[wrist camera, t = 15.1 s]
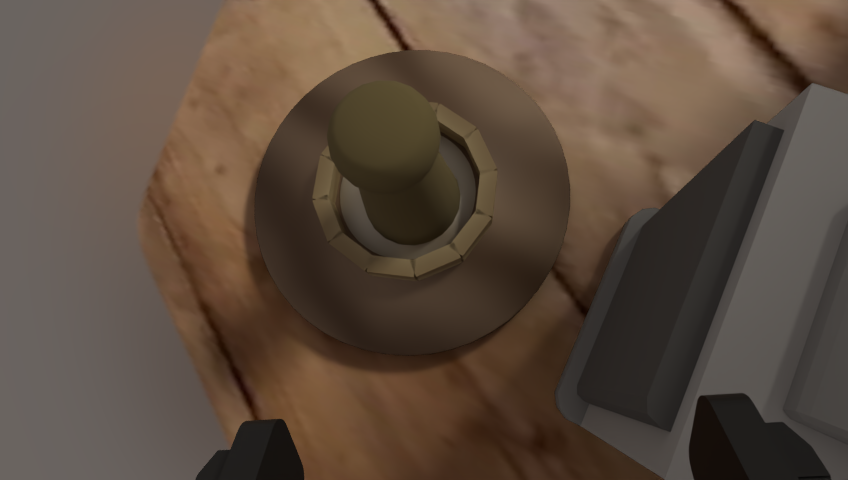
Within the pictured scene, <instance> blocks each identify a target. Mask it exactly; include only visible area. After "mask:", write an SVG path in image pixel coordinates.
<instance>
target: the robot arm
mask: <svg viewBox="0 0 848 480" xmlns="http://www.w3.org/2000/svg"><path fill="white" fill-rule="evenodd" d="M689 461H690V466H691V471H692V474H693V478H694V480H831V475H830V474H829V472H828V470H827V469H826V467H825V466H824V464H823V463H822V461H821V460H820V458H819V457H818V455H817V454H816V452H815V451H814V449H813V447H812V446H811V445H810V444H808V443H807V442H806V441H805V440H804V439H803V438H801V437H800V436H799V435H798V434H797V433H795V432H794V431H793V430H792V429H791V428H790V427H788V426H787V425H786V424H785V423H784V422H770V423H765V421H764V420H763V418H762V416H761V415H760V413H759V411H758V410H757V408H756V406H755V405H754V403H753V401H752V400H751V399H750V397H749V396H747V395H746V394H744V393H732V394H716V395H701V396H699V398H698V400H697V404H696V410H695V415H694V421H693V426H692V432H691V437H690V442H689ZM196 480H304V470H303V465H302V462H301V460H300V457H299V455H298V452H297V450H296V447H295V445H294V442H293V440H292V438H291V435H290V433H289V430H288V428H287V425H286V423H285V422H284V420H282V419H271V420H254V421H245V422H243V423H242V424H241V426H240V428H239V430H238V432H237V434H236V437H235V439H234V442H233V444H232V447H231V449H230V450H219V451H217V452H216V453H215V455H214V456H213V457H212V458H211V459H210V460H209V462H208V463H207V464H206V465H205V466H204V468H203V469H202V470H201V471H200V472H199V474H198V475H197V477H196Z"/></svg>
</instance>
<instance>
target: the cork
mask: <svg viewBox="0 0 848 480" xmlns="http://www.w3.org/2000/svg"><path fill="white" fill-rule="evenodd" d="M440 138H441V134H440V129H439V124H438V120H437V116H436V113H435V112H434V110H433V108H432V107H431V105H430V104H429V102H428V101H427V99H426V98H425V97H424V96H423V95H421V94H420V93H419V92H417V91H416V90H415V89H414V88H412V87H411V86H408V85H405V84H403V83H400V82H397V81H381V80H379V81H374V82H370V83H366V84H362V85H361V86H359V87H357V88H355V89H354V90H352V91H350V92H349V93H348V94H347V95H346V96H345V97H344V98H343V99H342V100H341V101H340V102H339V103H338V104H337V105H336V107H335V109H334V111H333V113H332V115H331V117H330V119H329V125H328V131H327V141H328V147H329V152H330V157H331V159H332V161H333V163H334V164H335V166H336V168H337V170H338V171H339V172H340V174H341V175H342V176H343V177H344V178H346V179H347V180H348V181H349V182H350V183H351V184H352V185H354V186H355V187H358V188H359V191H360V195H361V198H362V201H363V204H364V207H365V210H366V214H367V217H368V218H369V220H370V222H371V224H372V225H373V227H374V229H375V230H376V231H377V232H379V233H380V234H381V235H382V236H383V237H384V238H385V239H388V240H390V241H392V242H395V243H397V244H401V245H414V246H415V245H419V244H423V243H427V242H430V241H432V240H434V239H435V238H437V237H439V236H441V235H442V234H443V233H444V232H445V231H446V230H447V229H448V228H449V227H450V226H451V224H452V223H453V222H454V219H455V217H456V215H457V213H458V210H459V205H460V195H461V194H460V190H459V186H458V182H457V179H456V178H455V176H454V174H453V173H452V171H451V170H450V168H449V167H448V165H447V163H446V162H445V160H444V159H443V157H442V155H441V154H440V152H439V147H440Z"/></svg>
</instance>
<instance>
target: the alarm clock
mask: <svg viewBox="0 0 848 480" xmlns="http://www.w3.org/2000/svg"><path fill="white" fill-rule="evenodd" d="M732 393H744V394H746V395H747V396H749V397H750V399H751V400H752V401H753V403H754V405H755V406H756V408H757V410H758V411H759V413H760V415H761V416H762V418H763V420H764V421H765V423H770V422H784V423H785V424H786V425H787V426H788V427H790V428H791V429H792V430H793V431H794V432H795V433H797V434H798V435H799V436H800V437H801V438H803V439H804V440H805V441H806V442H807V443H808V444H810V445H811V446H812V447H813V449H814V451H815V452H816V454H817V455H818V457H819V458H820V460H821V461H822V463H823V464H824V466H825V467H826V469H827V470H828V472H829V474H830V475H831V480H848V94H845V93H842V92H839V91H836V90H833V89H830V88H827V87H824V86H821V85H817V84H814V83H812V84H811V85H810V86H808V87H807V88H806V89H805V90H804V91H803V92H802V93H801V94H800V95H798V96H797V97H796V98H795V99H794V100H793V101H792V102H791V103H789V104H788V105H787V106H786V107H785V108H784V109H783V110H782V111H780V112H779V113H778V114H777V115H776V116H775V117H774V118H773V119H771V120H770V121H769V122H768V123H767V124H765V123H762V122H759V121H756V120H754V121H753V122H752V123H751V124H750V125H749V126H748V127H747V128H746V129H745V130H744V131H742V132H741V133H740V134H739V135H738V136H737V137H736V138H735V139H734V140H733V141H732V142H731V143H730V144H729V145H728V146H727V147H726V148H724V149H723V150H722V151H721V152H720V153H719V154H718V155H717V156H716V157H715V158H714V159H713V160H712V161H711V162H710V163H709V164H708V165H706V166H705V167H704V168H703V169H702V170H701V171H700V172H699V173H698V174H697V175H696V176H695V177H694V178H693V179H692V180H691V181H690V182H688V183H687V184H686V185H685V186H684V187H683V188H682V189H681V190H680V191H679V192H678V193H677V194H676V195H675V196H674V197H673V198H672V199H670V200H669V201H668V202H667V203H666V204H665V205H664V206H663V207H662V208H661V209H660V210H659V209H657V208H649V209H642V210H641V211H639V212H638V213H636V214H635V215H633V216H632V217H631V218H630V219H629V220H628V221H627V222H626V223H625V225H624V227H623V229H622V232H621V234H620V237H619V239H618V241H617V244H616V246H615V249H614V251H613V253H612V256H611V258H610V261H609V263H608V265H607V268H606V270H605V273H604V275H603V277H602V280H601V282H600V285H599V287H598V289H597V292H596V294H595V297H594V299H593V301H592V304H591V306H590V308H589V311H588V313H587V316H586V318H585V320H584V323H583V325H582V328H581V330H580V332H579V335H578V337H577V340H576V342H575V344H574V347H573V349H572V352H571V354H570V356H569V359H568V361H567V364H566V366H565V368H564V371H563V373H562V376H561V378H560V380H559V383H558V385H557V388H556V390H555V399H556V405H557V408H558V409H559V411H560V412H561V414H562V415H563V416H564V418H566V419H567V420H569V421H571V422H573V423H575V424H577V425H579V426H581V427H583V428H584V429H586V430H588V431H589V432H591V433H592V434H594V435H595V436H597V437H599V438H600V439H602V440H603V441H605V442H606V443H608V444H610V445H611V446H613V447H614V448H616V449H617V450H619V451H621V452H622V453H624V454H625V455H627V456H629V457H630V458H632V459H633V460H635V461H636V462H638V463H640V464H641V465H643V466H644V467H646V468H647V469H649V470H651V471H652V472H654V473H655V474H657V475H658V476H660V477H662V478H663V479H665V480H694V478H693V474H692V471H691V466H690V461H689V442H690V437H691V432H692V426H693V421H694V415H695V410H696V404H697V400H698V398H699V396H701V395H716V394H732Z"/></svg>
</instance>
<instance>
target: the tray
mask: <svg viewBox="0 0 848 480" xmlns="http://www.w3.org/2000/svg"><path fill="white" fill-rule="evenodd" d="M379 80H381V81H397V82H400V83H403V84H405V85H408V86H411V87H412V88H414V89H415V90H416V91H417V92H419V93H420V94H421V95H423V96H424V97H425V98H426V99H427V101H428V102H429V104H430V105H431V107H432V108H433V110H434V112H435V113H436V116H437V120H438V124H439V129H440V134H441V138H440V147H439V152H440V154H441V155H442V157H443V159H444V160H445V162H446V163H447V165H448V167H449V168H450V170H451V171H452V173H453V174H454V176H455V178H456V179H457V182H458V186H459V190H460V194H461V195H460V205H459V210H458V213H457V215H456V217H455V219H454V222H453V223H452V224H451V226H450V227H449V228H448V229H447V230H446V231H445V232H444V233H443V234H442V235H441V236H439V237H437V238H435V239H434V240H432V241H430V242H427V243H423V244H419V245H415V246H414V245H401V244H397V243H395V242H392V241H390V240H388V239H385V238H384V237H383V236H382V235H381V234H380V233H379V232H377V231H376V230H375V229H374V227H373V225H372V224H371V222H370V220H369V218H368V217H367V214H366V210H365V207H364V204H363V201H362V198H361V195H360V191H359V188H358V187H355V186H354V185H352V184H351V183H350V182H349V181H348V180H347V179H346V178H344V177H343V176H342V175H341V174H340V172H339V171H338V170H337V168H336V166H335V164H334V163H333V161H332V159H331V157H330V152H329V147H328V141H327V131H328V125H329V119H330V117H331V115H332V113H333V111H334V109H335V107H336V105H337V104H338V103H339V102H340V101H341V100H342V99H343V98H344V97H345V96H346V95H347V94H348V93H349V92H350V91H352V90H354V89H355V88H357V87H359V86H361V85H362V84H366V83H370V82H374V81H379ZM569 210H570V183H569V176H568V168H567V164H566V160H565V157H564V153H563V149H562V146H561V144H560V142H559V140H558V137H557V135H556V133H555V130H554V128H553V127H552V125H551V124H550V122H549V120H548V119H547V117H546V115H545V114H544V112H543V111H542V110H541V109H540V107H539V106H538V105H537V104H536V102H535V101H534V100H533V99H532V98H531V97H530V96H529V95H528V94H527V93H526V92H525V91H524V90H523V89H522V88H521V87H520V86H519V85H517V84H516V83H515V82H513V81H512V80H511V79H509V78H508V77H506V76H505V75H504V74H502V73H501V72H499V71H497V70H495V69H493V68H491V67H489V66H487V65H485V64H483V63H481V62H478V61H475V60H473V59H470V58H467V57H464V56H460V55H456V54H451V53H447V52H438V51H430V50H408V51H400V52H392V53H387V54H383V55H379V56H374V57H370V58H368V59H365V60H362V61H360V62H357V63H354V64H352V65H350V66H348V67H346V68H344V69H342V70H340V71H338V72H336V73H334V74H333V75H331V76H330V77H328V78H327V79H325V80H324V81H322V82H321V83H319V84H318V85H317V86H316V87H315V88H313V89H312V90H311V91H310V92H309V93H307V94H306V95H305V96H304V97H303V98H302V99H301V100H300V101H299V102H298V103H297V104H296V105H295V107H294V108H293V109H292V110H291V111H290V112H289V114H288V115H287V116H286V118H285V119H284V120H283V122H282V123H281V125H280V126H279V128H278V129H277V131H276V133H275V135H274V137H273V138H272V140H271V142H270V144H269V146H268V149H267V151H266V154H265V156H264V158H263V161H262V165H261V168H260V172H259V176H258V180H257V187H256V194H255V224H256V232H257V238H258V242H259V246H260V250H261V254H262V257H263V259H264V261H265V264H266V266H267V269H268V271H269V274H270V275H271V277H272V279H273V280H274V282H275V284H276V285H277V287H278V289H279V291H280V292H281V293H282V294H283V296H284V297H285V298H286V299H287V301H288V302H289V303H290V304H291V306H292V307H293V308H294V309H295V310H296V311H297V312H299V313H300V314H301V315H302V316H303V317H304V318H305V319H306V320H307V321H308V322H310V323H311V324H313V325H314V326H315V327H317V328H318V329H320V330H321V331H322V332H324V333H326V334H328V335H330V336H332V337H334V338H335V339H337V340H339V341H341V342H344V343H346V344H349V345H352V346H355V347H358V348H360V349H364V350H369V351H373V352H378V353H383V354H393V355H408V356H409V355H424V354H433V353H438V352H442V351H447V350H452V349H455V348H457V347H460V346H463V345H466V344H469V343H472V342H474V341H476V340H478V339H480V338H481V337H483V336H485V335H487V334H489V333H491V332H493V331H494V330H496V329H497V328H498V327H500V326H501V325H503V324H504V323H506V322H507V321H509V320H510V319H511V318H512V317H513V316H514V315H515V314H516V313H517V312H519V311H520V310H521V309H522V308H523V307H524V306H525V305H526V304H527V303H528V301H529V300H530V299H531V298H532V297H533V295H534V294H535V293H536V292H537V291H538V289H539V288H540V286H541V285H542V283H543V281H544V280H545V278H546V277H547V275H548V274H549V272H550V270H551V269H552V267H553V264H554V262H555V260H556V258H557V256H558V253H559V251H560V249H561V246H562V242H563V239H564V236H565V232H566V229H567V223H568V216H569Z"/></svg>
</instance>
